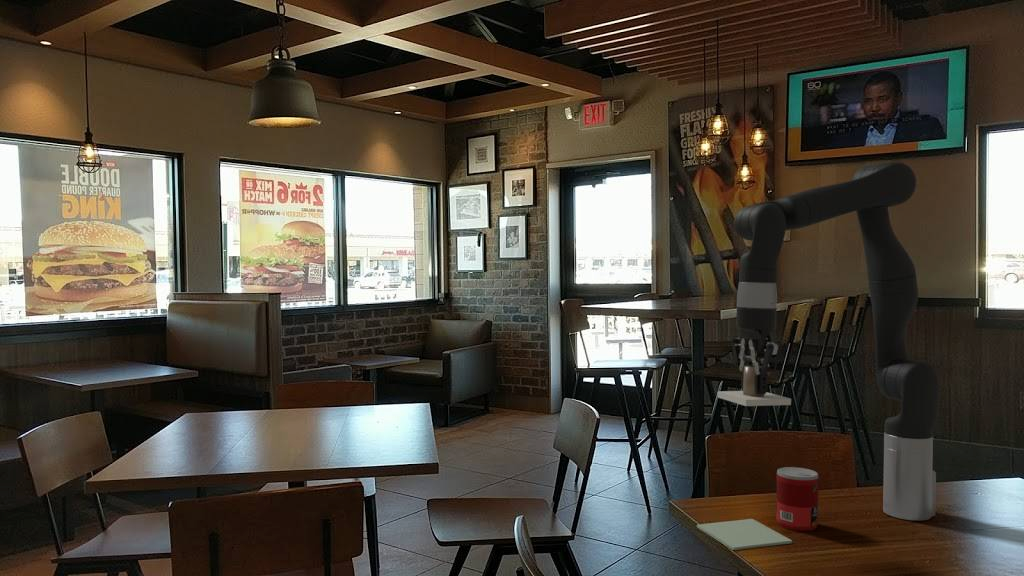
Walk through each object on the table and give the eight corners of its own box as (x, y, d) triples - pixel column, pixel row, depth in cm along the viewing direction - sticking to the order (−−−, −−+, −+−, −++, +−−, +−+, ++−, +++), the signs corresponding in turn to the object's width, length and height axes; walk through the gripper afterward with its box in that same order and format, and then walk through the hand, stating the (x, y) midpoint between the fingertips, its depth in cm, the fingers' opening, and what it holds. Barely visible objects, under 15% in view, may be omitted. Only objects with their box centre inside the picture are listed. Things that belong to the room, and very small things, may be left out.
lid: (760, 396, 156) (761, 363, 156) (790, 404, 146) (792, 369, 146) (717, 397, 153) (718, 363, 153) (745, 406, 144) (747, 370, 143)
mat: (752, 521, 157) (752, 518, 157) (792, 543, 145) (792, 540, 145) (696, 527, 154) (696, 524, 154) (732, 550, 141) (732, 547, 141)
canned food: (821, 532, 151) (821, 478, 150) (779, 529, 152) (779, 475, 152) (813, 520, 158) (814, 468, 158) (773, 517, 160) (774, 465, 159)
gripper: (795, 307, 144) (792, 397, 144) (752, 304, 157) (749, 386, 158) (761, 307, 141) (758, 398, 142) (720, 303, 155) (717, 386, 155)
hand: (753, 391), depth 150 cm, fingers closed on lid, 4 cm apart
